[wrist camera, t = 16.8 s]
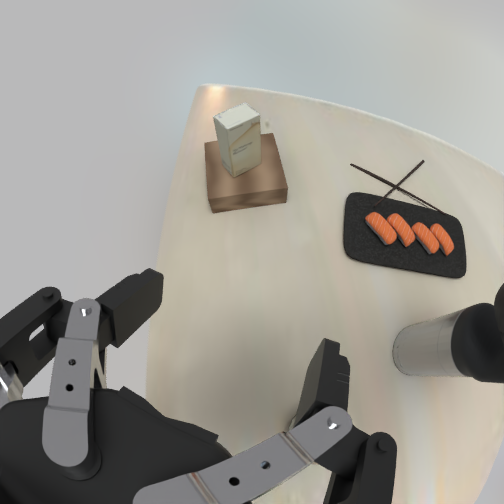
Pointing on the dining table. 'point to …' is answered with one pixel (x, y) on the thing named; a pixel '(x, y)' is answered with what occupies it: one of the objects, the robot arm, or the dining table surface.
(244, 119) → the skincare box
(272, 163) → the block
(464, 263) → the sushi plate
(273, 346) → the dining table surface
